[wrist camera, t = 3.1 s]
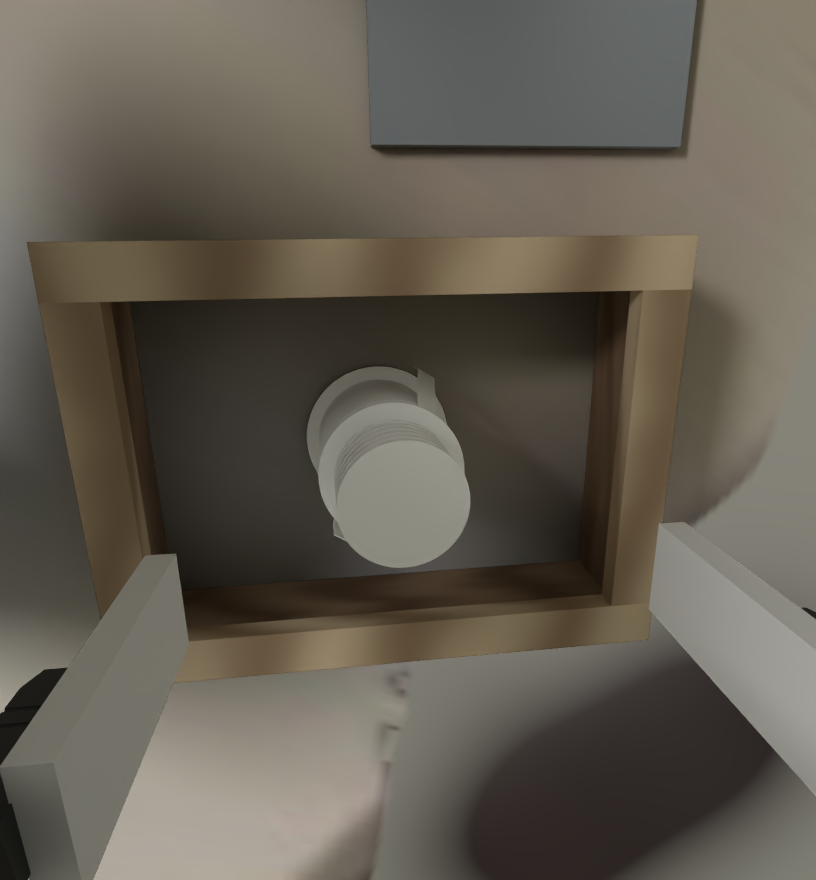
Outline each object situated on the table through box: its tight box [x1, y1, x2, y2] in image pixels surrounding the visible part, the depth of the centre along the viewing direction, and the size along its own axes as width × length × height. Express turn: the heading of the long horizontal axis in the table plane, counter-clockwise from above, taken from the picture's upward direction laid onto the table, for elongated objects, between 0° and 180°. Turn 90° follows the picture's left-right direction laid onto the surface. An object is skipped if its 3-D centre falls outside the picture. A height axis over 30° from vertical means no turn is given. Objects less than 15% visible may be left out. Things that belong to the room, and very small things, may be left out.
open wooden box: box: [27, 235, 699, 683], centre depth 26 cm, size 24×18×6 cm
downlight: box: [307, 366, 470, 568], centre depth 24 cm, size 8×7×10 cm
